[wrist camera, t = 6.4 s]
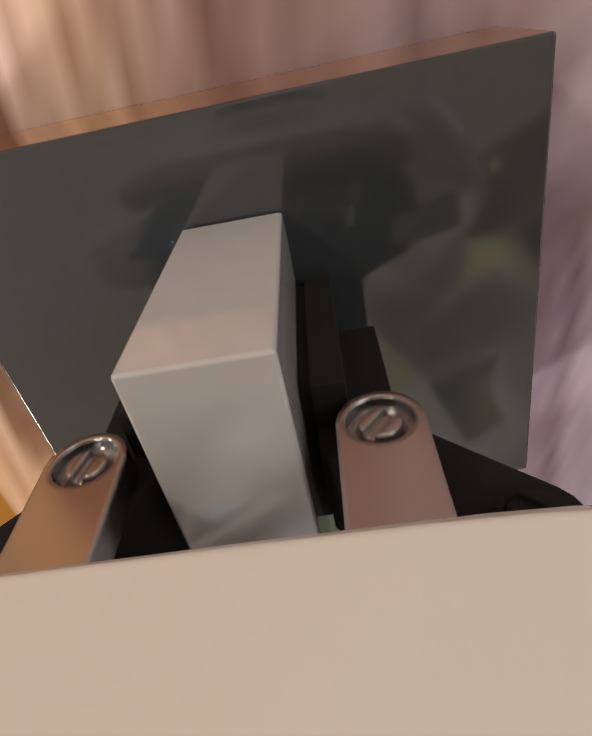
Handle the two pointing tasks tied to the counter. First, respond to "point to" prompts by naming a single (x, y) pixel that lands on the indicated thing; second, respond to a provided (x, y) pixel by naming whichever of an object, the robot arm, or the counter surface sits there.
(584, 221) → the counter surface
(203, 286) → the tap handle
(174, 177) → the plate
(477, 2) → the counter surface
